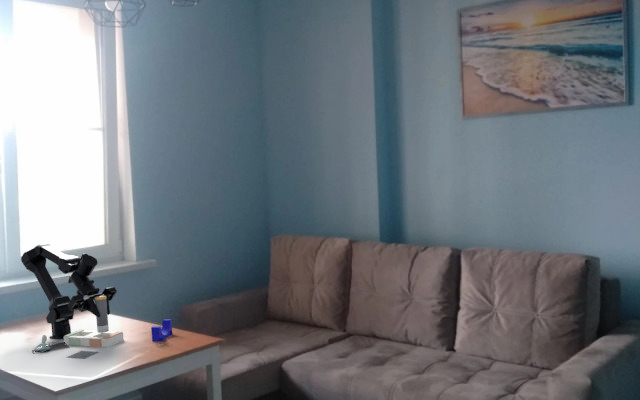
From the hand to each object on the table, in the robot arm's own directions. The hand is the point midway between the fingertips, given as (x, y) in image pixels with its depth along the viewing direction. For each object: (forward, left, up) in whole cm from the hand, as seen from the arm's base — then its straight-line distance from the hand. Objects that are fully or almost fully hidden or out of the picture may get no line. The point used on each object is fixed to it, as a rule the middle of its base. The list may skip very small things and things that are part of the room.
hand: (104, 315), depth 249 cm
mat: (+1, -14, -11) cm, 18 cm away
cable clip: (+16, +12, -11) cm, 23 cm away
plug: (-1, 0, -6) cm, 6 cm away
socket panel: (-6, 0, -11) cm, 13 cm away
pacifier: (-19, -12, -11) cm, 25 cm away
